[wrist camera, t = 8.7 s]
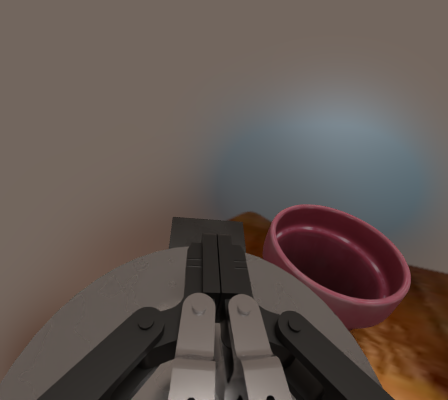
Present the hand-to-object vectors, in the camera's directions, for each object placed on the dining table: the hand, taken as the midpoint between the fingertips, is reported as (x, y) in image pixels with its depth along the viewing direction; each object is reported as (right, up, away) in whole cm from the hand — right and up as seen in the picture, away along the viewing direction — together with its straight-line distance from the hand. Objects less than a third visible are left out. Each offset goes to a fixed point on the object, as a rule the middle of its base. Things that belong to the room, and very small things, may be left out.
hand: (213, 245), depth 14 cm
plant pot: (+10, -13, +20) cm, 26 cm away
